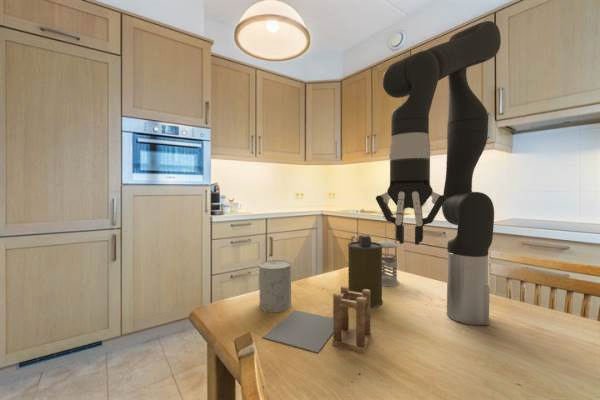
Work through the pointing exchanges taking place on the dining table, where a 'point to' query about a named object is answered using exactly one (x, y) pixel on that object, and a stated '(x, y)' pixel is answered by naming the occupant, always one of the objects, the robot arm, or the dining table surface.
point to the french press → (389, 263)
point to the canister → (365, 268)
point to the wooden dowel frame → (341, 330)
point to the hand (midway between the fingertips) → (409, 243)
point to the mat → (302, 331)
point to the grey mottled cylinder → (275, 285)
